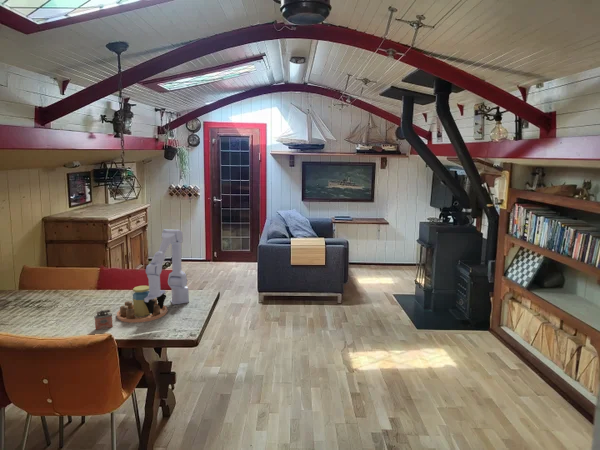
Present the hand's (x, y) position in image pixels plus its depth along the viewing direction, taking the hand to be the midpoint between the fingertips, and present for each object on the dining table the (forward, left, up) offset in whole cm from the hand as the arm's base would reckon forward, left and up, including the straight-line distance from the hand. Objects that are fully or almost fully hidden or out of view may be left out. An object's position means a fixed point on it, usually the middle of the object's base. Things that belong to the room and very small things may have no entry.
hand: (156, 310), depth 230 cm
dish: (+6, -6, -3) cm, 10 cm away
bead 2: (0, 0, -3) cm, 3 cm away
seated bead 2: (+13, -13, -3) cm, 18 cm away
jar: (+6, -6, -4) cm, 10 cm away
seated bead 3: (+13, 0, -3) cm, 13 cm away
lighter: (+25, +7, -4) cm, 27 cm away
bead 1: (0, -13, -3) cm, 13 cm away
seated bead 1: (+15, -6, -3) cm, 17 cm away
